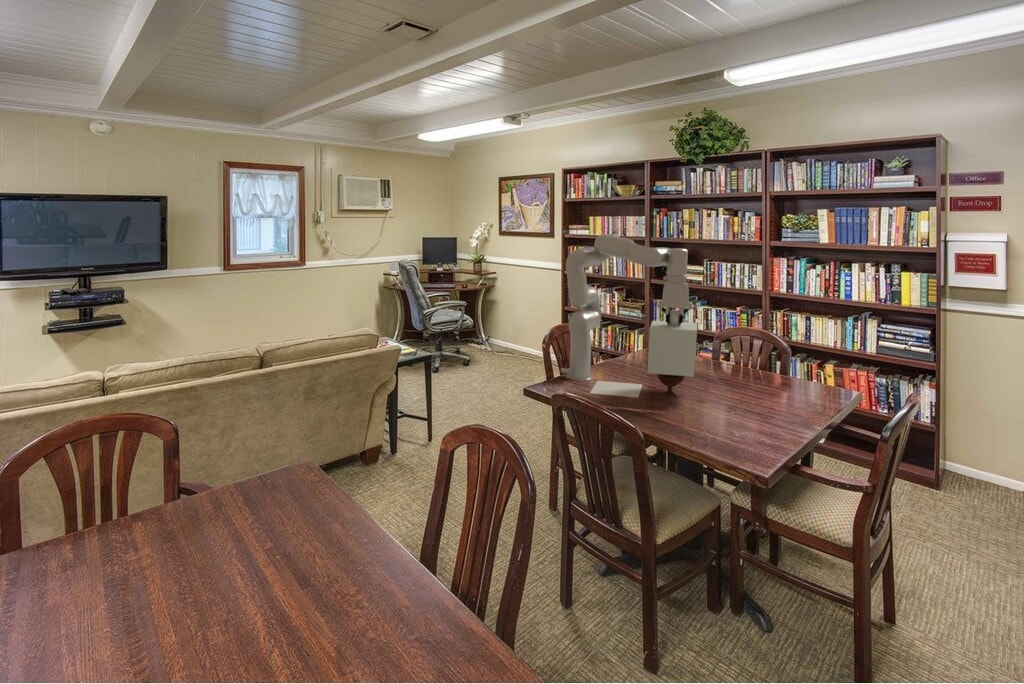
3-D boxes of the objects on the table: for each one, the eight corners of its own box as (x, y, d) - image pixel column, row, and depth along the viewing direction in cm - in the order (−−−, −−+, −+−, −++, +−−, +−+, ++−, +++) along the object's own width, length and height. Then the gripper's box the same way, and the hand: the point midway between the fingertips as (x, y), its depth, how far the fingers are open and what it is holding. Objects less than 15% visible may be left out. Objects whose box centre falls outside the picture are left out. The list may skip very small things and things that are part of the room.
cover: (647, 373, 231) (650, 313, 226) (650, 362, 248) (653, 306, 243) (694, 376, 225) (698, 315, 220) (694, 365, 242) (697, 308, 237)
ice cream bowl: (679, 392, 244) (682, 358, 241) (684, 399, 233) (687, 364, 230) (654, 391, 245) (656, 357, 242) (658, 399, 234) (660, 363, 231)
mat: (589, 395, 239) (589, 393, 239) (597, 382, 258) (597, 380, 258) (638, 399, 233) (638, 397, 233) (642, 386, 252) (642, 384, 252)
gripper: (654, 279, 228) (652, 324, 232) (698, 280, 223) (695, 326, 227) (655, 278, 235) (653, 321, 239) (698, 279, 230) (695, 323, 234)
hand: (674, 323), depth 233 cm, fingers closed on cover, 4 cm apart
